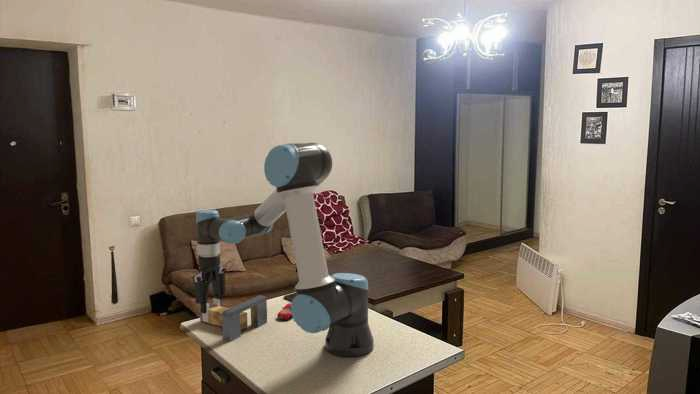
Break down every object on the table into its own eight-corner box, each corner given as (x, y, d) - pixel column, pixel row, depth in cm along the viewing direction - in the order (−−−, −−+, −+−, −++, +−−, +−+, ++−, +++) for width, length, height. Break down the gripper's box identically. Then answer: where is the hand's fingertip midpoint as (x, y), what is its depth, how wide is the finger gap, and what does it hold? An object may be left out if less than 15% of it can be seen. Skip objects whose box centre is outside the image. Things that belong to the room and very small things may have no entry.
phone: (297, 291, 213) (321, 300, 202) (297, 294, 213) (321, 303, 203) (282, 296, 208) (306, 305, 197) (282, 299, 208) (306, 308, 197)
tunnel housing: (267, 322, 183) (266, 296, 181) (229, 341, 167) (228, 313, 165) (260, 320, 184) (259, 295, 183) (223, 339, 168) (221, 311, 167)
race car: (287, 322, 183) (287, 312, 183) (274, 320, 186) (274, 309, 185) (306, 310, 195) (306, 300, 194) (294, 308, 197) (293, 297, 197)
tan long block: (247, 326, 178) (247, 312, 177) (238, 331, 174) (237, 317, 173) (209, 316, 187) (209, 303, 186) (200, 320, 183) (199, 307, 182)
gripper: (219, 247, 189) (221, 309, 193) (181, 258, 174) (184, 325, 178) (234, 250, 185) (237, 312, 189) (197, 261, 171) (200, 329, 174)
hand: (211, 318), depth 183 cm, fingers closed on tan long block, 5 cm apart
